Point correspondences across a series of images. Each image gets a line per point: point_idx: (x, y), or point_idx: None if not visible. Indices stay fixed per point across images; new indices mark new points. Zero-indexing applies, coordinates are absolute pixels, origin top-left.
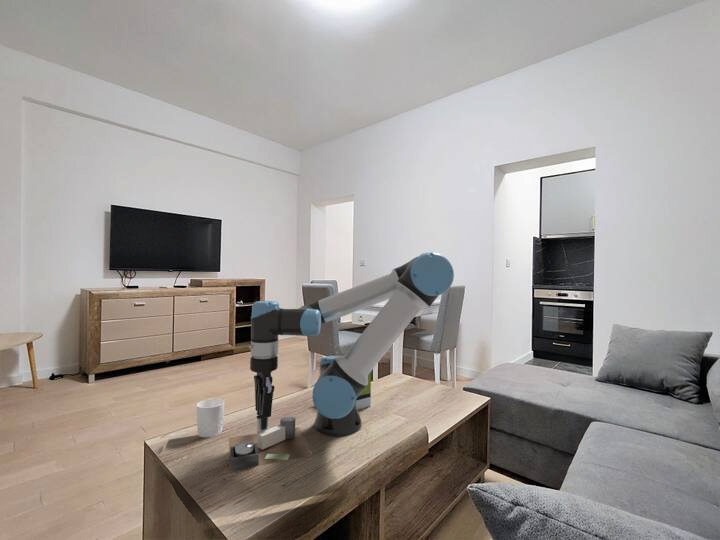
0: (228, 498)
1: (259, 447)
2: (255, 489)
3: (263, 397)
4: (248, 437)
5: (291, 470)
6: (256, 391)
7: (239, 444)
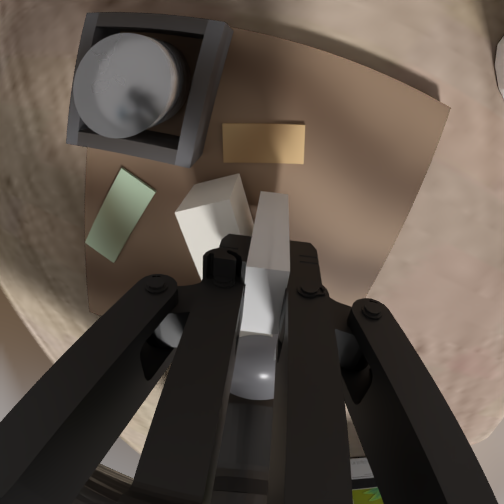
0: (15, 23)
1: (219, 179)
2: (14, 100)
3: (6, 440)
4: (391, 181)
5: (61, 228)
6: (428, 468)
7: (136, 58)
